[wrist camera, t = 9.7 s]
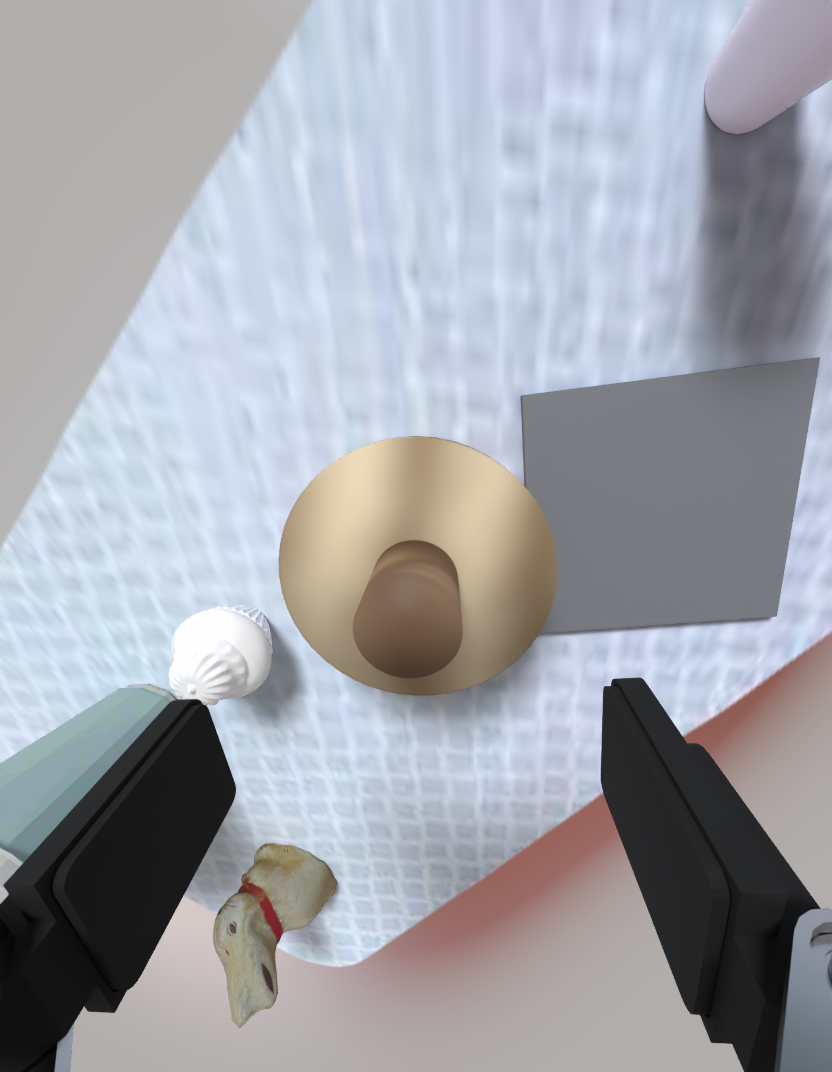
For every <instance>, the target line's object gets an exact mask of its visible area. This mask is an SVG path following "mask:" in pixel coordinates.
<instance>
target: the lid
mask: <svg viewBox="0 0 832 1072" xmlns="http://www.w3.org/2000/svg"><path fill="white" fill-rule="evenodd" d="M279 578H280V583H281V589H282V594H283V597H284V600H285V603H286V606H287V609H288V611H289V613H290V615H291V617H292V619H293V621H294V623H295V625H296V627H297V628H298V630H299V631H300V633H301V634H302V636H303V637H304V638H305V640H306V641H307V642H308V643H309V645H310V646H311V647H312V648H313V649H314V650H315V651H316V652H317V653H318V654H319V655H320V656H321V657H322V658H323V659H324V660H325V661H327V662H328V663H329V664H331V665H332V666H333V667H335V668H336V669H337V670H339V671H340V672H342V673H344V674H345V675H347V676H349V677H350V678H352V679H354V680H356V681H359V682H361V683H363V684H365V685H368V686H371V687H374V688H377V689H380V690H383V691H388V692H393V693H398V694H407V695H437V694H445V693H451V692H455V691H459V690H463V689H466V688H469V687H472V686H475V685H477V684H480V683H482V682H484V681H486V680H488V679H490V678H492V677H494V676H496V675H497V674H499V673H500V672H502V671H503V670H505V669H506V668H508V667H509V666H510V665H511V664H512V663H514V662H515V661H516V660H517V659H518V658H519V657H521V655H522V654H523V653H524V652H525V651H526V650H527V649H528V648H529V647H530V646H531V644H532V643H533V641H534V640H535V639H536V637H537V636H538V634H539V633H540V631H541V629H542V627H543V625H544V624H545V622H546V620H547V618H548V615H549V612H550V609H551V607H552V604H553V601H554V596H555V590H556V585H557V557H556V549H555V545H554V541H553V537H552V533H551V530H550V528H549V525H548V523H547V520H546V518H545V516H544V514H543V512H542V510H541V509H540V507H539V505H538V504H537V502H536V500H535V499H534V498H533V496H532V495H531V494H530V493H529V491H528V490H527V489H526V488H525V486H524V485H523V484H522V483H521V482H520V481H519V480H518V479H517V478H516V477H515V476H514V475H513V474H512V473H511V472H509V471H508V470H507V469H506V468H505V467H504V466H502V465H501V464H499V463H498V462H497V461H495V460H494V459H492V458H491V457H489V456H488V455H486V454H484V453H482V452H480V451H478V450H476V449H474V448H472V447H469V446H466V445H463V444H460V443H458V442H455V441H450V440H445V439H440V438H436V437H422V436H411V437H397V438H392V439H387V440H382V441H378V442H375V443H372V444H369V445H366V446H363V447H361V448H359V449H357V450H355V451H353V452H351V453H349V454H347V455H345V456H343V457H341V458H339V459H338V460H337V461H335V462H334V463H332V464H331V465H330V466H328V467H327V468H325V469H324V470H323V471H322V472H321V473H320V474H319V475H318V476H316V477H315V478H314V479H313V480H312V481H311V482H310V483H309V485H308V486H307V487H306V488H305V490H304V491H303V492H302V494H301V495H300V496H299V498H298V499H297V501H296V503H295V505H294V506H293V508H292V510H291V512H290V514H289V517H288V519H287V522H286V524H285V527H284V530H283V534H282V538H281V543H280V551H279Z"/></svg>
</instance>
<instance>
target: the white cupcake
mask: <svg viewBox="0 0 832 1072" xmlns="http://www.w3.org/2000/svg"><path fill="white" fill-rule="evenodd" d="M272 653H273V651H272V639H271V633H270V626H269V623H268V622H267V618H265V617H264V615H263V614H261V612H260V611H258V610H257V609H255V608H254V607H252V608H251V607H250V606H245V605H237V606H217V607H216V608H209V610H205V611H202V612H199V613H197V614H195V615H193V616H191V617H190V618H188V619H187V620H185V621H184V622H183V623H182V624H181V625H180V626H179V627H178V628H177V629H176V631H175V633H174V635H173V638H172V642H171V660H172V663H173V664H172V666H171V667H170V669H169V679H170V680H169V683H170V687H171V688H172V689H173V690H174V693H175V695H176V696H178V697H181V698H182V699H199V700H200V701H201V702H202V703H203V705H206V706H207V705H208V704H209V705H215V704H217V703H218V701H219V700H223V699H231V698H239V697H243V696H245V695H248V694H249V693H251V692H253V691H254V690H256V689H257V688H258V687H259V686H260V685H261V684H262V683H263V682H264V681H265V680H266V678H267V676H268V674H269V672H270V668H271V654H272Z"/></svg>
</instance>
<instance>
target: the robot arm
mask: <svg viewBox="0 0 832 1072" xmlns="http://www.w3.org/2000/svg"><path fill="white" fill-rule="evenodd" d="M601 784H602V789H603V793H604V796H605V799H606V802H607V804H608V807H609V809H610V812H611V815H612V817H613V820H614V822H615V825H616V828H617V830H618V833H619V835H620V838H621V841H622V843H623V846H624V848H625V851H626V854H627V856H628V859H629V861H630V864H631V867H632V869H633V872H634V875H635V877H636V880H637V882H638V885H639V888H640V890H641V893H642V895H643V898H644V901H645V903H646V906H647V908H648V911H649V913H650V916H651V919H652V921H653V924H654V927H655V929H656V932H657V934H658V937H659V940H660V942H661V945H662V947H663V950H664V953H665V955H666V958H667V961H668V963H669V966H670V968H671V971H672V974H673V976H674V979H675V981H676V984H677V986H678V989H679V992H680V994H681V997H682V999H683V1001H684V1004H685V1006H686V1007H687V1009H688V1011H689V1012H690V1013H691V1014H696V1015H700V1016H701V1018H702V1021H703V1024H704V1026H705V1029H706V1031H707V1033H708V1036H709V1038H710V1041H711V1043H728V1044H729V1043H730V1044H733V1047H734V1049H735V1051H736V1054H737V1056H738V1058H739V1061H740V1063H741V1065H742V1068H743V1070H744V1072H832V909H829V908H825V909H820V907H819V906H818V904H817V903H816V902H815V900H814V899H813V897H812V896H811V895H810V893H809V892H808V891H807V889H806V888H805V886H804V885H803V884H802V882H801V881H800V879H799V878H798V877H797V875H796V874H795V872H794V871H793V870H792V868H791V867H790V865H789V864H788V863H787V861H786V860H785V859H784V857H783V856H782V854H781V853H780V852H779V850H778V849H777V847H776V846H775V845H774V843H773V842H772V841H771V839H770V838H769V837H768V835H767V834H766V832H765V831H764V829H763V828H762V827H761V825H760V824H759V823H758V821H757V820H756V818H755V817H754V815H753V814H752V813H751V811H750V810H749V809H748V807H747V806H746V804H745V803H744V802H743V800H742V799H741V798H740V796H739V795H738V793H737V792H736V790H735V789H734V788H733V786H732V785H731V784H730V782H729V781H728V779H727V778H726V777H725V775H724V774H723V772H722V771H721V770H720V768H719V767H718V765H717V764H716V763H715V761H714V760H713V759H712V757H711V756H710V755H709V753H708V752H707V751H706V750H705V749H704V747H702V746H700V745H699V744H695V743H691V744H687V743H686V741H685V740H684V738H683V737H682V735H681V734H680V732H679V731H678V729H677V728H676V726H675V725H674V723H673V722H672V720H671V719H670V717H669V716H668V715H667V713H666V712H665V710H664V709H663V707H662V706H661V704H660V703H659V701H658V700H657V698H656V697H655V695H654V694H653V692H652V691H651V689H650V688H649V687H648V685H647V684H646V682H645V681H644V680H643V679H642V678H622V679H613V680H612V683H611V686H605V687H604V690H603V717H602V751H601ZM235 793H236V786H235V782H234V779H233V777H232V774H231V771H230V768H229V765H228V763H227V760H226V757H225V754H224V751H223V749H222V746H221V743H220V740H219V737H218V735H217V732H216V729H215V726H214V723H213V721H212V718H211V715H210V712H209V709H208V708H207V706H206V705H203V703H202V702H201V701H200V700H199V699H182V700H173V701H171V702H170V703H169V704H168V705H167V706H166V707H165V708H164V709H163V710H162V711H161V712H160V713H159V714H158V716H157V717H156V718H155V719H154V720H153V721H152V722H151V723H150V724H149V725H148V727H147V728H146V729H145V730H144V731H143V732H142V733H141V734H140V735H139V736H138V738H137V739H136V740H135V741H134V742H133V743H132V744H131V745H130V746H129V747H128V749H127V750H126V751H125V752H124V753H123V754H122V755H121V756H120V757H119V758H118V759H117V761H116V762H115V763H114V764H113V765H112V766H111V767H110V768H109V769H108V770H107V772H106V773H105V774H104V775H103V776H102V777H101V778H100V779H99V780H98V781H97V783H96V784H95V785H94V786H93V787H92V788H91V789H90V790H89V791H88V792H87V794H86V795H85V796H84V797H83V798H82V799H81V800H80V801H79V802H78V803H77V804H76V806H75V807H74V808H73V809H72V810H71V811H70V812H69V813H68V814H67V815H66V817H65V818H64V819H63V820H62V821H61V822H60V823H59V824H58V825H57V826H56V828H55V829H54V830H53V831H52V832H51V833H50V834H49V835H48V836H47V837H46V839H45V840H44V841H43V842H42V843H41V844H40V845H39V846H38V847H37V848H36V850H35V851H34V852H33V853H32V854H31V855H30V856H29V857H28V858H27V859H26V860H25V862H24V863H23V864H22V865H21V866H20V867H19V868H18V869H17V870H16V871H15V873H14V874H13V875H12V876H11V877H10V878H9V879H8V880H7V881H6V882H5V884H4V885H3V886H4V888H5V889H6V891H7V892H8V894H9V895H8V896H7V897H6V898H5V899H4V900H3V902H2V903H1V904H0V1072H70V1067H71V1055H72V1042H73V1029H74V1022H75V1020H76V1019H77V1017H78V1015H79V1014H80V1012H81V1010H82V1009H83V1007H84V1006H85V1008H86V1009H87V1011H90V1012H109V1013H114V1012H115V1011H116V1009H117V1008H118V1006H119V1004H120V1002H121V1000H122V998H123V997H124V995H125V993H126V991H127V990H129V989H130V988H131V987H133V986H134V984H135V983H136V982H137V981H138V979H139V978H140V976H141V974H142V972H143V970H144V969H145V967H146V965H147V963H148V961H149V959H150V957H151V955H152V954H153V952H154V950H155V948H156V946H157V944H158V942H159V940H160V939H161V937H162V935H163V933H164V931H165V929H166V927H167V925H168V924H169V921H170V920H171V918H172V916H173V914H174V912H175V910H176V908H177V907H178V905H179V903H180V901H181V899H182V897H183V895H184V893H185V892H186V890H187V888H188V886H189V884H190V882H191V880H192V878H193V877H194V875H195V873H196V871H197V869H198V867H199V865H200V863H201V862H202V860H203V858H204V856H205V854H206V852H207V850H208V848H209V846H210V845H211V843H212V841H213V839H214V837H215V835H216V833H217V831H218V830H219V828H220V826H221V824H222V822H223V820H224V818H225V816H226V815H227V813H228V811H229V809H230V807H231V805H232V803H233V801H234V798H235Z"/></svg>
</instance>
